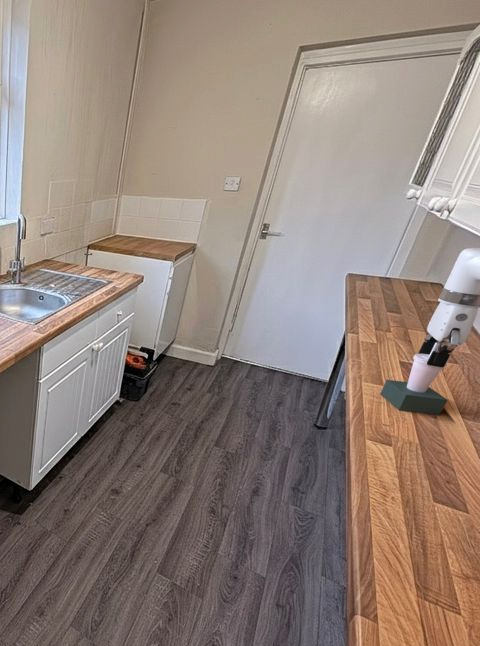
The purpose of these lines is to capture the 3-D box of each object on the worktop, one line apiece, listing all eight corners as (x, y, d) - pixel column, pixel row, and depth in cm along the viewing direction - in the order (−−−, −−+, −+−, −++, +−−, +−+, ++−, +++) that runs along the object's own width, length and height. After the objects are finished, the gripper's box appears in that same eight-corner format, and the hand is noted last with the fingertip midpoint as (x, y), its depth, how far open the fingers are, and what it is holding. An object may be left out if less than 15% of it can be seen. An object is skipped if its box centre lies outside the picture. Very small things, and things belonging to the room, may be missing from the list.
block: (417, 398, 120) (425, 383, 118) (439, 415, 112) (447, 399, 110) (379, 394, 123) (386, 379, 121) (398, 410, 115) (406, 394, 113)
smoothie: (425, 386, 117) (447, 341, 111) (437, 397, 112) (461, 350, 106) (395, 381, 119) (416, 337, 114) (406, 392, 114) (428, 346, 109)
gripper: (499, 309, 96) (462, 377, 103) (468, 291, 110) (438, 352, 117) (453, 304, 100) (421, 370, 107) (429, 287, 113) (402, 346, 120)
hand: (430, 360), depth 112 cm, fingers closed on smoothie, 6 cm apart
